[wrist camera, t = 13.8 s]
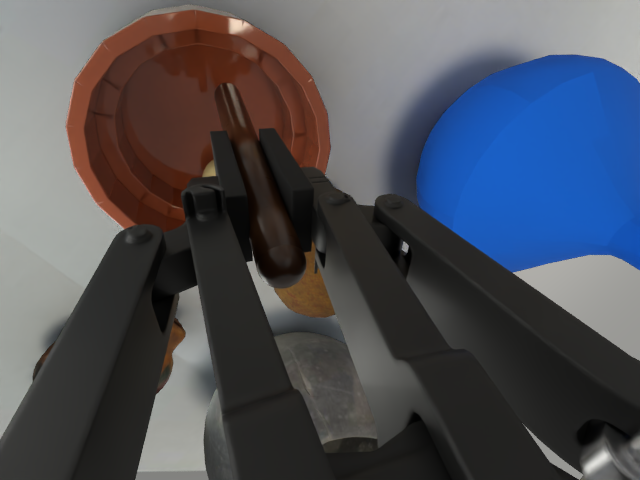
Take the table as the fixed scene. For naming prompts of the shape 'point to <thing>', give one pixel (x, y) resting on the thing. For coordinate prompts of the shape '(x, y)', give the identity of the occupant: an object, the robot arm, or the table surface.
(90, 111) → the mixing bowl
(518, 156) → the vase
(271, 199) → the stick
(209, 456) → the bowl
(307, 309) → the potato
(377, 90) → the table surface
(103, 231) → the table surface
